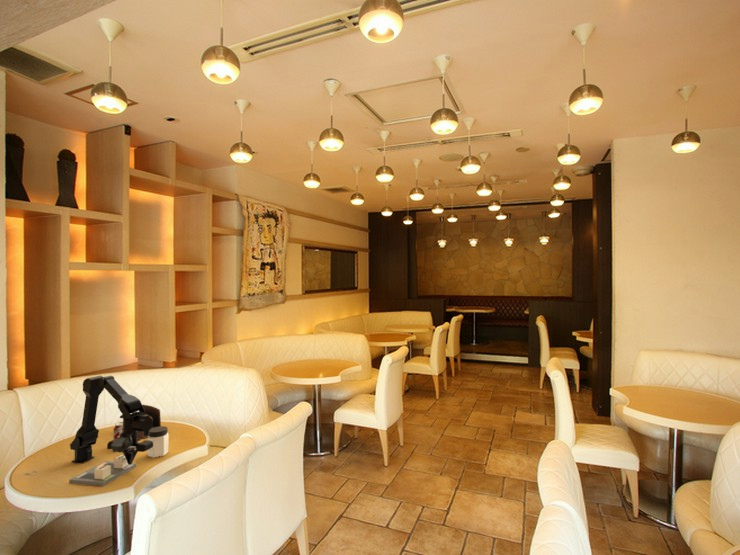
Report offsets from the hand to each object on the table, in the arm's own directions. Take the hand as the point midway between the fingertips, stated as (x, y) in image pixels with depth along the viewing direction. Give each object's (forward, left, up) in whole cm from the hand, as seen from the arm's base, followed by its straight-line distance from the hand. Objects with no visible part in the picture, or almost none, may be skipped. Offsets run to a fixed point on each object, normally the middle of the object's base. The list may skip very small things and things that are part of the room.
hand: (130, 464), depth 176 cm
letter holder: (-29, +42, -3) cm, 51 cm away
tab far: (-4, 0, -1) cm, 4 cm away
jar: (0, +18, -3) cm, 18 cm away
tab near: (-4, -10, -1) cm, 11 cm away
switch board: (-8, -5, -3) cm, 10 cm away
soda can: (-24, +22, -3) cm, 33 cm away
